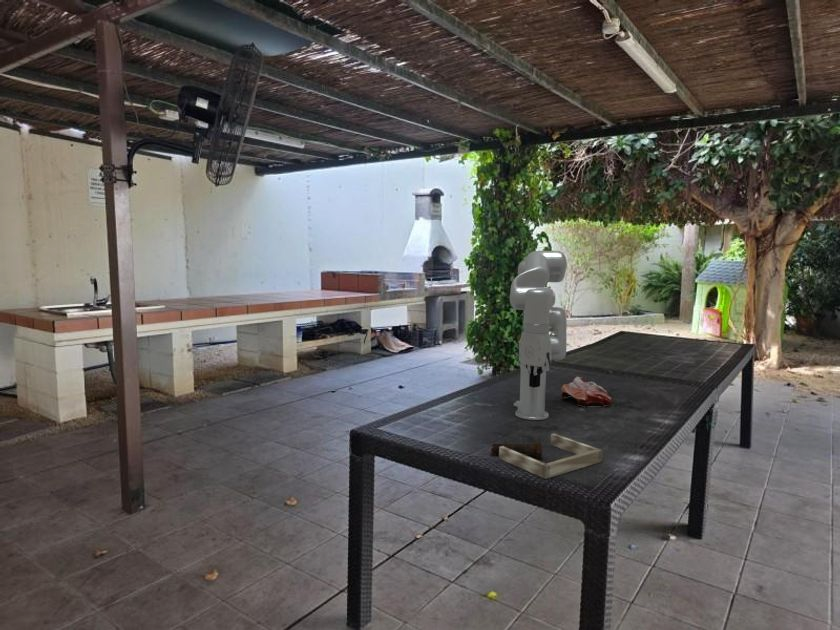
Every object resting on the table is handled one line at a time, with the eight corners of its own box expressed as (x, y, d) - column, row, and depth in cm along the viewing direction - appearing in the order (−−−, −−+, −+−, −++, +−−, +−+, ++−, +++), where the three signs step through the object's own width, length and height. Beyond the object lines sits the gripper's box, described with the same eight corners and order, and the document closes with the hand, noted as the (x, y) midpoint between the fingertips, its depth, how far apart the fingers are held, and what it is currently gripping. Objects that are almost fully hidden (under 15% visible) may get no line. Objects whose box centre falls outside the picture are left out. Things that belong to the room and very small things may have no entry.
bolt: (491, 459, 165) (541, 461, 162) (491, 456, 160) (542, 458, 158) (491, 440, 167) (540, 441, 165) (491, 437, 162) (541, 438, 160)
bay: (498, 458, 160) (499, 446, 160) (553, 444, 174) (554, 433, 173) (545, 479, 145) (546, 466, 145) (601, 461, 158) (602, 450, 158)
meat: (622, 402, 229) (623, 379, 228) (599, 411, 214) (600, 387, 213) (577, 394, 243) (578, 372, 242) (553, 402, 228) (553, 379, 227)
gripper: (510, 326, 170) (509, 383, 172) (546, 333, 158) (544, 393, 160) (527, 325, 174) (526, 380, 177) (563, 331, 162) (561, 390, 164)
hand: (534, 386), depth 168 cm, fingers closed
